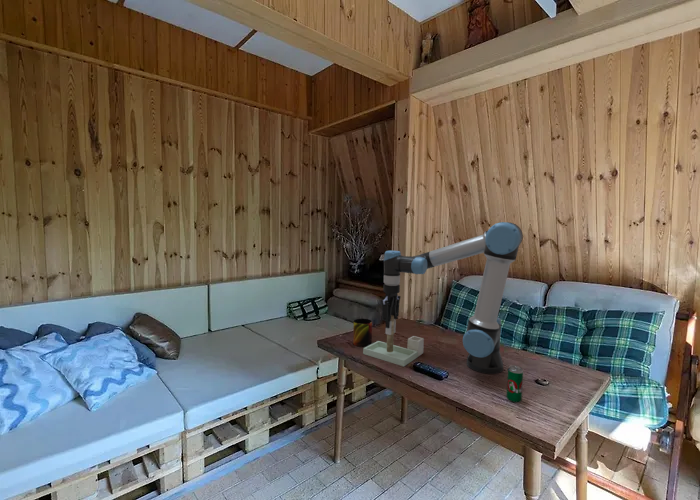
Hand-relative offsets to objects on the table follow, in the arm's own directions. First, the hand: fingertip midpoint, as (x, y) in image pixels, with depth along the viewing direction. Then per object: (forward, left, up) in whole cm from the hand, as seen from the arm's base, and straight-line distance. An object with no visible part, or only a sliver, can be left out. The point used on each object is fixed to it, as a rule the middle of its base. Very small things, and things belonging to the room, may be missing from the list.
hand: (390, 333), depth 160 cm
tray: (0, 0, -12) cm, 12 cm away
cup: (-8, -10, -12) cm, 17 cm away
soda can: (-55, +4, -12) cm, 56 cm away
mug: (+22, -6, -12) cm, 26 cm away
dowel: (0, 0, -9) cm, 9 cm away
